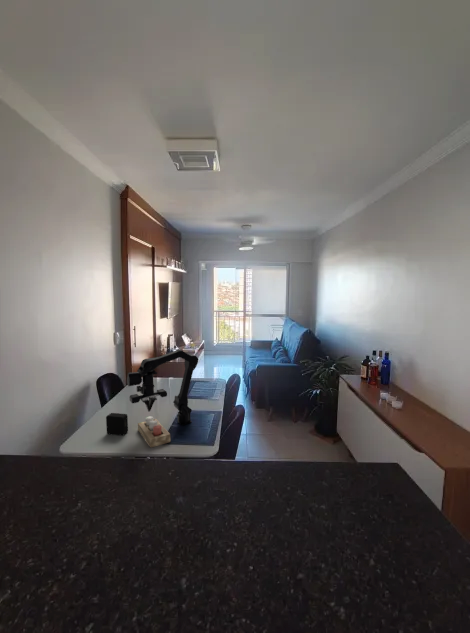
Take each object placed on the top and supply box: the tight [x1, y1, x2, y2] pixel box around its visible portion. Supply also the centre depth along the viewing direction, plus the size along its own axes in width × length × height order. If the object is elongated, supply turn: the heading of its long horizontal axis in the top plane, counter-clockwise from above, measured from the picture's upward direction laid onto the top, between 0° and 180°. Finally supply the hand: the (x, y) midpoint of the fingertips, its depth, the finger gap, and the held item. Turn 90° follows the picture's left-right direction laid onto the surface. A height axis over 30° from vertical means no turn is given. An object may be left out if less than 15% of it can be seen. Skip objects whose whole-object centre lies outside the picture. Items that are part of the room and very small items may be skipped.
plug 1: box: [145, 415, 154, 426], centre depth 160 cm, size 4×4×4 cm
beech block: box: [137, 418, 171, 448], centre depth 154 cm, size 10×22×4 cm, turn 33°
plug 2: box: [149, 421, 157, 431], centre depth 154 cm, size 4×4×4 cm
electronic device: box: [105, 412, 129, 436], centre depth 158 cm, size 4×10×10 cm, turn 79°
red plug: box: [153, 425, 162, 436], centre depth 149 cm, size 4×4×4 cm
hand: (149, 411), depth 159 cm, fingers closed
